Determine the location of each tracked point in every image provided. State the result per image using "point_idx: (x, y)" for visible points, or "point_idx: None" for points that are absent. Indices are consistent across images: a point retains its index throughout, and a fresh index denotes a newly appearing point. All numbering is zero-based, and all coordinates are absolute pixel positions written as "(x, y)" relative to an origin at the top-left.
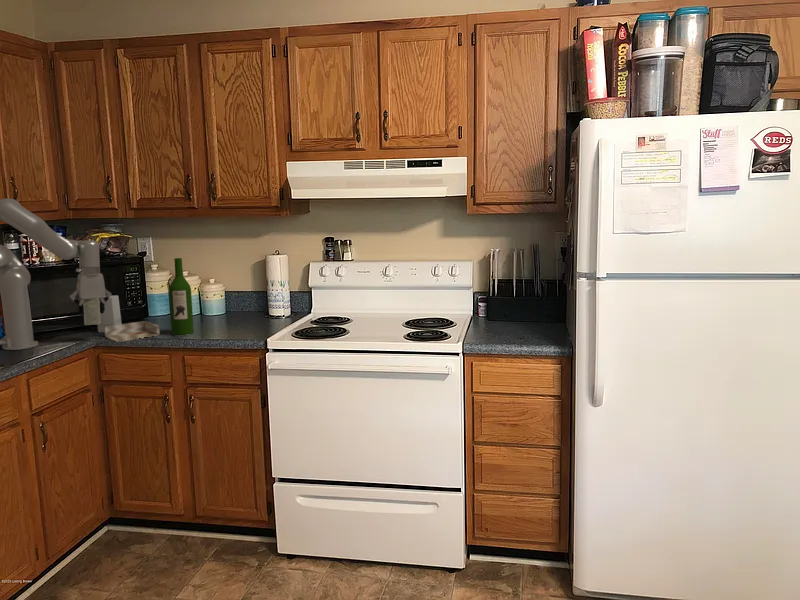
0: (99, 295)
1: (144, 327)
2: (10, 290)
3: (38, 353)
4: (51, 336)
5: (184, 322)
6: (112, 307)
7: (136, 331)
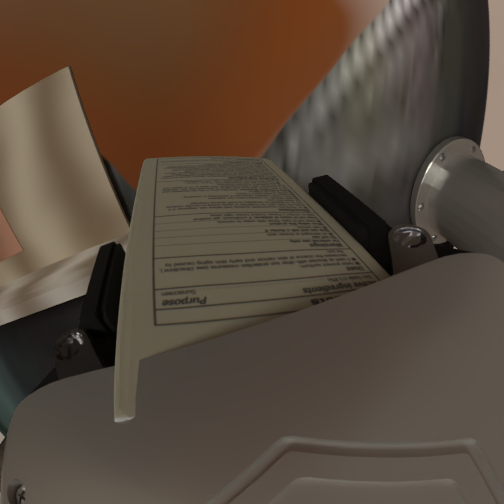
0: (94, 419)
1: None
2: None
3: (430, 26)
4: None
5: None
6: None
7: (6, 284)
